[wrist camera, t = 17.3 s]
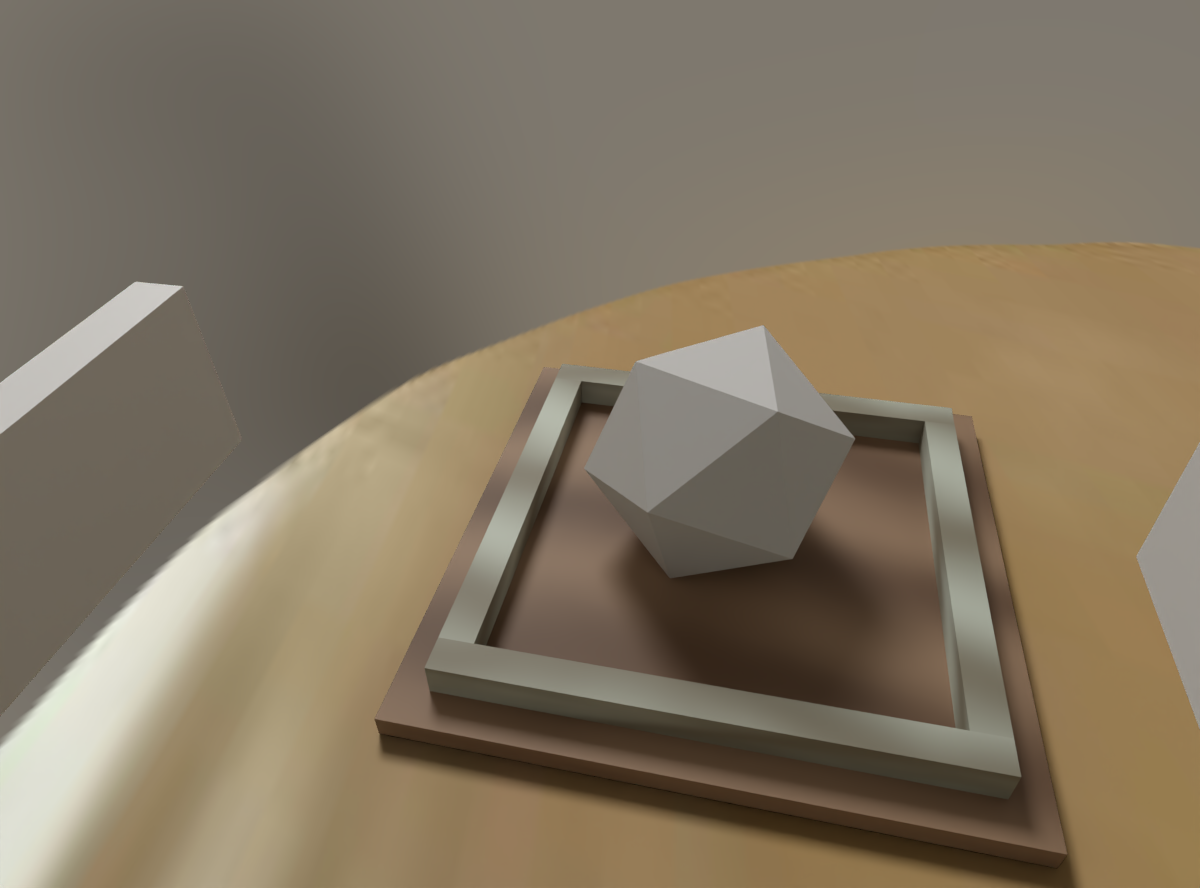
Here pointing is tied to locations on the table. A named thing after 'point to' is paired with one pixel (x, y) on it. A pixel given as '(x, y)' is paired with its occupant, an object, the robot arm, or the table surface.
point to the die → (719, 454)
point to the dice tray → (747, 640)
